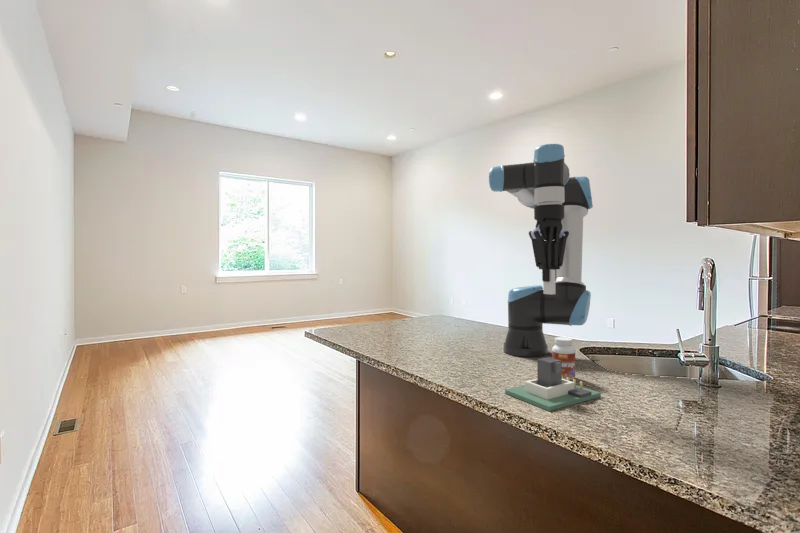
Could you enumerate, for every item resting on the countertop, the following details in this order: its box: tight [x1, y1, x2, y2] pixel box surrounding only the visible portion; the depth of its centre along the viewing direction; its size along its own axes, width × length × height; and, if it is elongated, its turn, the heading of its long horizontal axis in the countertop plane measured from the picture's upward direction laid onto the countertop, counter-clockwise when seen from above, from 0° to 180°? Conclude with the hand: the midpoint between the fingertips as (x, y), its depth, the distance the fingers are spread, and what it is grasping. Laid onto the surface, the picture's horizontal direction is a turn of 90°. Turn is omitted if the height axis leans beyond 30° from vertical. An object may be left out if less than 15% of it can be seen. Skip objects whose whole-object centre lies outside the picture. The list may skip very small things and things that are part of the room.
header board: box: [504, 376, 602, 412], centre depth 106 cm, size 18×14×4 cm
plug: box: [536, 356, 562, 388], centre depth 105 cm, size 4×5×8 cm
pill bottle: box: [551, 336, 576, 381], centre depth 121 cm, size 6×6×11 cm
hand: (549, 293), depth 114 cm, fingers closed
